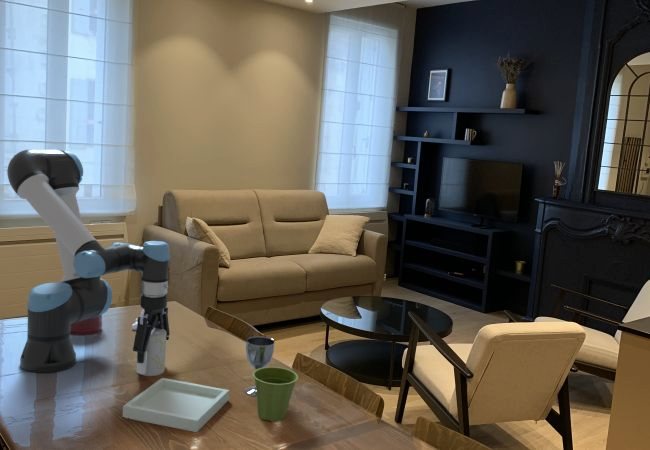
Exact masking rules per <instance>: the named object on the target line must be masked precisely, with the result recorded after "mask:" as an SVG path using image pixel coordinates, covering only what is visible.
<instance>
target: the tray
mask: <svg viewBox="0 0 650 450" xmlns="http://www.w3.org/2000/svg"><path fill="white" fill-rule="evenodd" d="M229 394H230V390H229V389H226V388H221V387H220V388H219V387H214V386H208V385H204V384H200V383H199V384H198V383H194V382H193V383H192V382H187V381H182V380H181V381H180V380H178V379H177V380H176V379H171V378H165V377H161V378H160V379H158V380H157V381H155V382H154V383H153V384H151V385H150V386H148V387H147V388H146V389H144V390H143V391H141V393H139V394H138V395H136V396H135V397H133V398H132V399H131V400H129V401H128V402H126V403H125V404H123V405H122V418H123V417H125V418H124V419H128V418H129V420H134V421H137V422H144V423H149V424H154V425H159V426H164V427H169V428H174V429H178V430H184V431H189V432H193V433H198V432H199V431H200V430H201V428H202V427H204V425H206V423H208V421H210V419H212V417H213V416H215V414H217V413H218V411H220V409H222V407H224V405H226V404H227V403H228V402H229V396H230V395H229Z"/></svg>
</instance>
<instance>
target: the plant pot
mask: <svg viewBox="0 0 650 450" xmlns="http://www.w3.org/2000/svg"><path fill="white" fill-rule="evenodd" d="M252 377H253V379H254V382H255V383H254V384H255V385H254V386H256V392H257V397H256V402H257V403H256V404H257V405H256V406H257V415H258V417H259V418H260V419H261V420H264V421H271V422H279V421H283V420H284V419H285V418H286V416H287V412H288V408H289V405H290V400H291V397H292V393H293V390H294V388H295V386H296V385H295V384H296V382H297V381H298V380H299V375H298V374H297V373H296V372H295V371H294V370H291V369H288V368H286V367H279V366H265V367H264V368H259V369H257V370H255V369H254V370H253V372H252Z"/></svg>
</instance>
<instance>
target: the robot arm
mask: <svg viewBox="0 0 650 450" xmlns="http://www.w3.org/2000/svg"><path fill="white" fill-rule="evenodd" d="M6 172H7V173H6V174H7V179H8V183H9V184H10V186H11V188H12V190H13V192H14V193H15V194H16V195H17V196H18V197H19V198H20V199H23V200H26V201H27V202H28V204H29V205H31V207H32V208H33V210H35V212H36V213H37V214H38V215H39V216H40V218H41V219H42V220H43V221H44V223H46V225H47V226H48V228H50V230H51V231H52V232H53V234H54V237H55V241H56V245H57V246H56V247H57V249H58V250H57V251H58V254H59V257H60V259H59V260H60V262H61V266H62V270H63V276H62V278H61V279H60V281H58V282H57V281H56V282H55V281H54V282H47V283H42V284H38V285H37V286H35V287H33V288H32V289H31V290H30V291H29V293H28V300H27V303H26V305H27V334H26V335H27V336H26V337H27V338H26V342H25V345H24V347H23V350H22V353H21V355H20V358H19V359H20V360H19V361H20V363H19V367H20V369H21V368H22V369H23V370H25V371H27V372H32V373H42V374H43V373H53V372H61V371H65V370H68V369H70V368H72V367H73V366H74V365H75V364H76V363H77V353H76V352H75V348H74V345H73V342H72V339H71V334H70V330H71V324H73V323H77V322H80V321H84V320H87V319H92V318H95V317H97V316H99V315H102V316H103V315H104V314H105V313H106V312H107V311H108V310H109V308H110V306H112V302H113V291H112V290H113V289H112V287H111V285H110V284H109V283H108V282H107V280H106V279H104V278H101V276H105V275H110V274H114V273H115V274H116V273H120V272H123V271H132V272H133V271H135V272H140V273H141V286H140V287H141V288H140V304H139V305H140V307H141V308H142V310H143V309H144V310H145V311H144V315H143V317H141V316H138V317H137V318H138V325H137V330H135V337H134V340H133V341H134V342H133V347H132V351H133V352H136V369H137V372H136V373H137V374H138V373H143V374H146V369H147V351H146V348H147V345H148V341H149V337H150V335H151V331H152V330H153V329H154V328H157V329H164V330H166V332H167V334H166V341H169V340H170V337H169V336H170V335H171V334H170V326H169V314H168V313H169V307H168V295H167V293H168V290H169V284H168V283H169V269H170V259H171V255H170V245H169V243H167V242H165V241H161V240H160V241H159V240H149V241H144V243H143V244H142V245H138V244H132V243H129V242H113V243H112V244H111V245H110V246H109V247H103V246H102V244H101V243H99V241H98V240H97V239H96V238H95V237H94V236H93V235H92V233H91V232H90V231H89V229H87V227H86V226H85V225H84V224H83V221H82V217H81V212H80V208H79V204H78V200H77V193H78V192H79V190H80V184H81V182H82V180H83V178H82V177H84V167H83V163H82V162H81V160H80V158H79V157H78V156H77V155H76V154H74V153H72V152H71V151H70V150H69V151H68V150H62V149H33V148H32V149H25V150H21V151H19V152H18V153H16V154H15V155H13V157H12V158H11V159H10V161H9V162H8V166H7V170H6Z"/></svg>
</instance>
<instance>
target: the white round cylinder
mask: <svg viewBox="0 0 650 450" xmlns="http://www.w3.org/2000/svg"><path fill="white" fill-rule="evenodd" d="M166 334H167V332H166V330H164V329H157V328H155V327H154V329H153V330H152V331H151V335H150V337H149V341H148V345H147V348H146V351H147V369H146V374H143V373H137V368H136V373H137V374H138V375H140V376H147V377H154V376H161V374H163V373H164V372H165V370H166V353H167V352H166V349H167V340H166Z"/></svg>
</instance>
